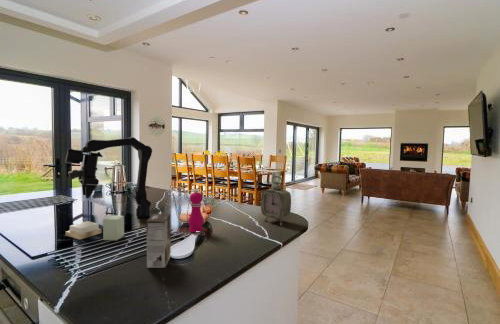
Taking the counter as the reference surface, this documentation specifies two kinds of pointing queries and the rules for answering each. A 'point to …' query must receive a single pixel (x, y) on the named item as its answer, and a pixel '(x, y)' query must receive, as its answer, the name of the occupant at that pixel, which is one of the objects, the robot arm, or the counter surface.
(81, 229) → the top block
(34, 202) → the counter surface
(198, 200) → the pepper mill
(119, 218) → the sage block
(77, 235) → the bottom block
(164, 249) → the coffee box
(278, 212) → the tabletop clock
